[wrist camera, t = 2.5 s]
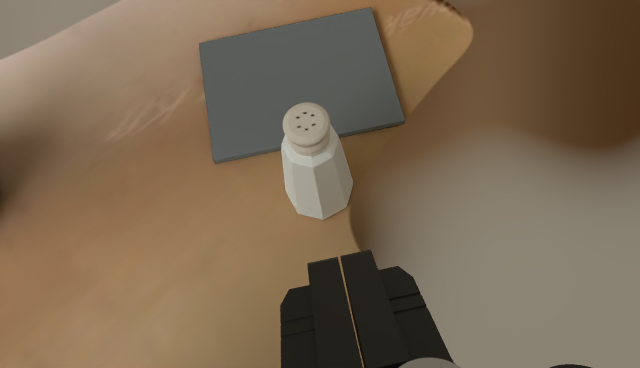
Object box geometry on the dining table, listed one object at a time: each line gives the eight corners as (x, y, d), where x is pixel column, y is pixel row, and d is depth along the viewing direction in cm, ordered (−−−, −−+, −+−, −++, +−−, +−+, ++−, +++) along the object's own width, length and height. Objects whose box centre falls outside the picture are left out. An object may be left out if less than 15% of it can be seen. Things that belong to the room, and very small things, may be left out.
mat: (404, 123, 39) (404, 120, 39) (215, 163, 39) (213, 160, 38) (370, 11, 44) (370, 7, 43) (200, 47, 43) (198, 43, 43)
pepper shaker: (358, 216, 37) (358, 157, 26) (289, 225, 37) (262, 169, 26) (349, 153, 39) (346, 75, 28) (283, 161, 39) (256, 87, 28)
